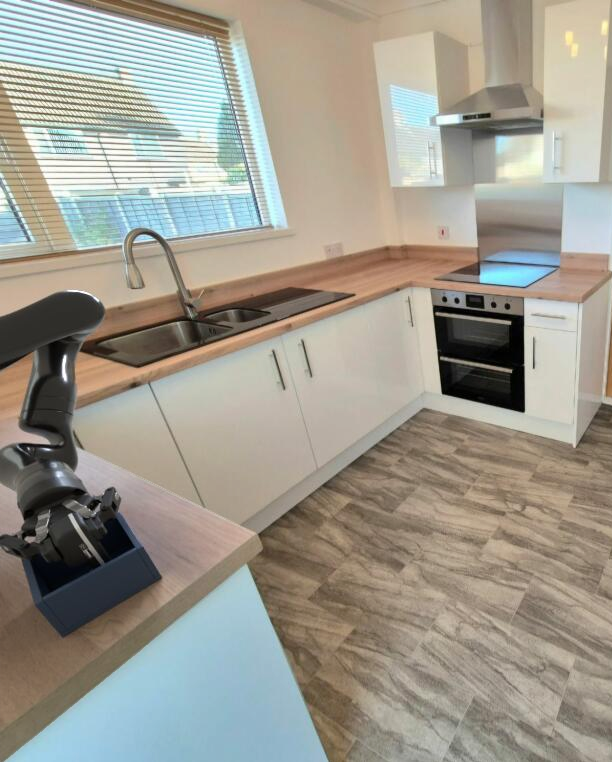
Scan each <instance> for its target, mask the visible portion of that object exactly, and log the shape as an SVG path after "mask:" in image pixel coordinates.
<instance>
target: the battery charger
mask: <svg viewBox="0 0 612 762" xmlns="http://www.w3.org/2000/svg"><path fill="white" fill-rule="evenodd" d="M49 534H50V536H51V538H52V541H53V543H54V545H55V547H56V549H57V550H58V552H59V553H60V555H61V556H62V558H63V559H64V561H65V562H66V563H67V565H68V566H71V567H77V566H79V565H81V564H84V565H88V566H90V570H89V571H88V573H89V572H91V571H92V570H94V569H96V568H98V567H100V566H102V565H104V564H105V563H107V562H109V561H111V560H112V558H111V557H110V555H109V554H108V553H107V551H106V550H105V548H104V547H103V545H102V544H101V543H100V541H99V542H98V541H97V540H96V538H95V537H94V535H93V534H92V533H91V531H90V529H89V527H88V526H87V524H86V522H85V520H84V519H83V517H82V516H81V514H80V513H79V512H75V513H73V514H72V513H71V514H69V515H68V516H66V517H64V518H62V519H60V520H58V521H56V522H54V523H52V524H51V525H50V527H49Z"/></svg>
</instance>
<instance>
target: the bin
mask: <svg viewBox="0 0 612 762" xmlns="http://www.w3.org/2000/svg"><path fill="white" fill-rule="evenodd" d="M103 525H104V527H105V529H106V530H107V534H105V535H103V538H104V539H103V540H101V541H100V543H101V544H102V545H103V547H104V548H105V550H106V551H107V553H108V554H109V555H110V557H111V558H112V560H111V561H109V562H107V563H105V564H104V565H102V566H100V567H98V568H96V569H94V570H92V571H91V572H89V573H88V571H89V570H90V566H88V565H84V564H81V565H79V566H77V567H71V566H68V565H67V563H66V562H65V561H64V559H63V558H62V559H63V560H61V561H59V562H57V563H55V561H52V562H50V563H49V562H46V560H45V559H44V558H43V556H42V555H41V553H39V554H38V555H37V556H36V557H35V558H33V559H31V560H24V559H21V558H20V559H21V564H22V566H23V567H22V568H23V571H24V574H25V576H26V577H25V578H26V581H27V583H28V587H29V590H30V594H31V598H32V601H33V605H34V606H35V607H36V609H37V610H38V611H39V612H40V613H41V614H42V616H43V617H44V618H45V620H47V621H48V623H49V624H50V625H51V626H52V627H53V629H54V630H55V631H56V632H57V634H58V635H60V637H61V638H64V637H66V636H68V635H70V633H73V632H74V631H76V630H78V629H80V628H81V627H82V626H84V625H86V624H88V623H89V622H91V621H92V620H94V619H96V618H98V617H100V616H101V615H103V614H104V613H106V612H108V611H109V610H111V609H113V608H115V607H116V606H118V605H119V604H121V603H123V602H125V601H126V600H129V598H130V597H133V596H135V595H137V594H138V593H140V592H141V591H142V590H145V589H146V588H148V587H150V586H151V585H153V584H155V583H156V582H158V581H160V580H161V579H163V576H162V574H161V572H160V571H159V569H158V568H157V565H155V563H154V561H153V559H152V558H151V556H150V555H149V553H148V552H147V550H146V549H145V547H144V545H143V544H142V542H141V541H140V539H139V538H138V536H137V534H136V533H135V531H134V530H133V529H132V527H131V526H130V524H129V523H128V521H127V520H126V518H125V516H124V515H123V514H122V512H121V511H118V514H117V517H116V518H115V519H113V520H111V521H105V522H104V523H103Z"/></svg>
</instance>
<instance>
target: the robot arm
mask: <svg viewBox="0 0 612 762" xmlns="http://www.w3.org/2000/svg"><path fill="white" fill-rule="evenodd" d="M105 318H106V307H105V306H104V303H103V302H102V301H101V300H100V299H99V298H98V297H96V296H95V295H93V294H90V293H88V292H86V291H80V290H71V289H70V290H69V289H68V290H61V291H56V292H54V293H51V294H49V295H47V296H45V297H43V298H41V299H39V300H37V301H34V302H33V303H30V304H28V305H25V306H24V307H21V308H19V309H17V310H15V311H14V310H13V311H12V312H10V313H7V314H4V315H1V316H0V373H2V372H4V371H6V370H7V369H9V368H10V367H12V366H13V365H15V364H17V363H18V362H20V361H22V360H23V359H25V358H26V357H27V356H29V355H30V354H32V365H31V371H30V374H29V378H28V381H27V386H26V388H25V393H24V398H23V401H22V404H21V409H20V414H19V417H18V421H17V422H18V423H17V425H18V428H19V429H20V431H22V432H24V433H26V434H30V435H32V436H33V435H34V436H36V437H41V438H43V439H44V440H47V441H48V443H33V442H21V441H20V442H12V443H10V444H6V445H5V446H3V447H1V448H0V484H1V485H2V486H4V487H6V488H8V489H9V490H12V491H14V492H16V505H17V508H18V509H19V511H20V514H21V517H22V519H23V523H22V525H21V528H20V530H19V531H17V532H15V533H12V534H11V535H10V534H5V533H4V534H1V535H0V548H1V549H2V550H3V551H4V552H5V553H6V554H8V555H11V556H14V557H16V558H19V559H24V560H31V559H33V558H35V557H36V556H37V555H38V554H39V553H41V555H42V556H43V558H44V559H45V560H46V562H49V563H50V562H52V561H55V563H57V562H59V561H61V560H63V559H62V556H61V555H60V553H59V552H58V550H57V549H56V547H55V545H54V543H53V541H52V538H51V536H50V534H49V527H50V525H51V524H52V523H54V522H56V521H58V520H60V519H62V518H64V517H66V516H68V515H69V514H71V513H72V514H73V513H75V512H79V513H80V514H81V516H82V517H83V519H84V520H85V522H86V524H87V526H88V527H89V529H90V531H91V533H92V534H93V535H94V537H95V538H96V540H97V541H98V542H99V541H101V540H103V539H104V538H103V535H105V534H107V530H106V529H105V527H104V525H103V523H104V522H105V521H111V520H113V519H115V518H116V517H117V514H118V513H119V510H120V506H121V502H122V498H121V497H122V496H120V494H119V492H118V491H117V489H116V488H115V486H110V487H107V488H106V489H105V490H104V493H102V494H100V495H97V496H96V495H94V494H90V492H89V491H88V489H87V488H86V486H85V485H84V482H83V480H82V479H81V478H80V477H78V475H77V474H75V472H76V471H77V469H78V466H79V454H78V450H77V446H76V443H75V437H74V429H73V422H74V415H75V410H76V405H77V399H78V383H77V376H76V365H77V358H78V356H79V353H80V351H81V348H82V347H83V344H84V343H85V340H86V339H87V338H89V337H90V336H91V335H92V334H94V333H95V332H96V331H97V330H98V329H99V328H100V327H101V326H102V325H103V323H104V322H105ZM98 507H99V510H97V511H96V509H98ZM95 511H96V512H95ZM27 537H28V538H34V540H33V541H31V542H29V541H28V540H26V538H27Z"/></svg>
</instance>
